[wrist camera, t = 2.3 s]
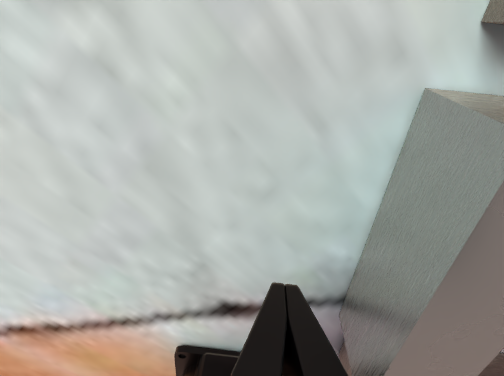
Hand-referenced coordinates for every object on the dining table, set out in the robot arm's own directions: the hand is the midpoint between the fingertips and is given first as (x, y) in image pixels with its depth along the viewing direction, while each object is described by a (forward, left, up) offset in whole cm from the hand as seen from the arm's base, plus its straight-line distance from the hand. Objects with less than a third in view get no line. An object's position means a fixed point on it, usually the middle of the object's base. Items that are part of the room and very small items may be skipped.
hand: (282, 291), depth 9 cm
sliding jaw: (0, -6, -4) cm, 7 cm away
